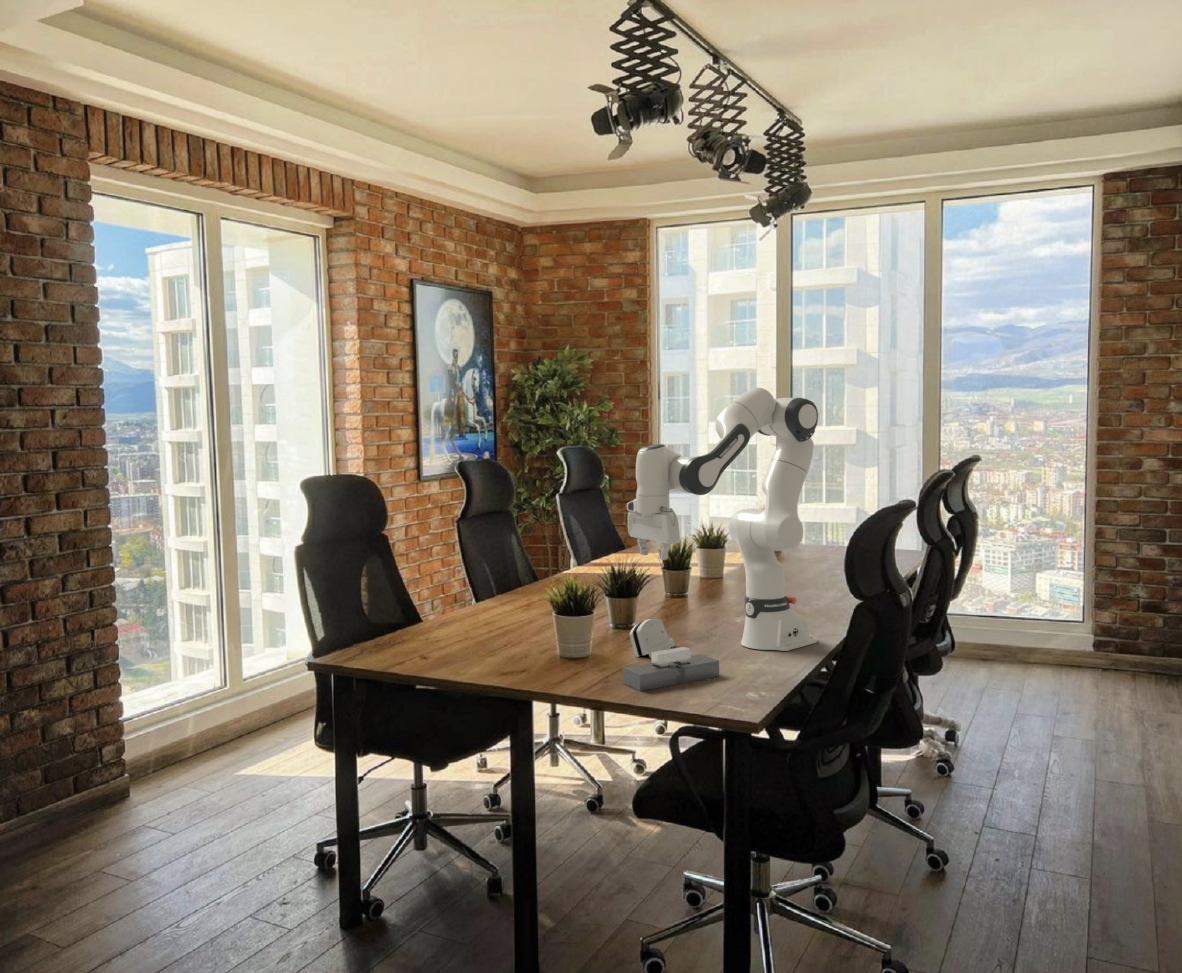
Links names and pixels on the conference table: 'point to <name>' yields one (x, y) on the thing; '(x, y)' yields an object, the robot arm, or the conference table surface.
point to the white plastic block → (650, 637)
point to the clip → (671, 657)
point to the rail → (670, 673)
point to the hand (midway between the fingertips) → (653, 557)
